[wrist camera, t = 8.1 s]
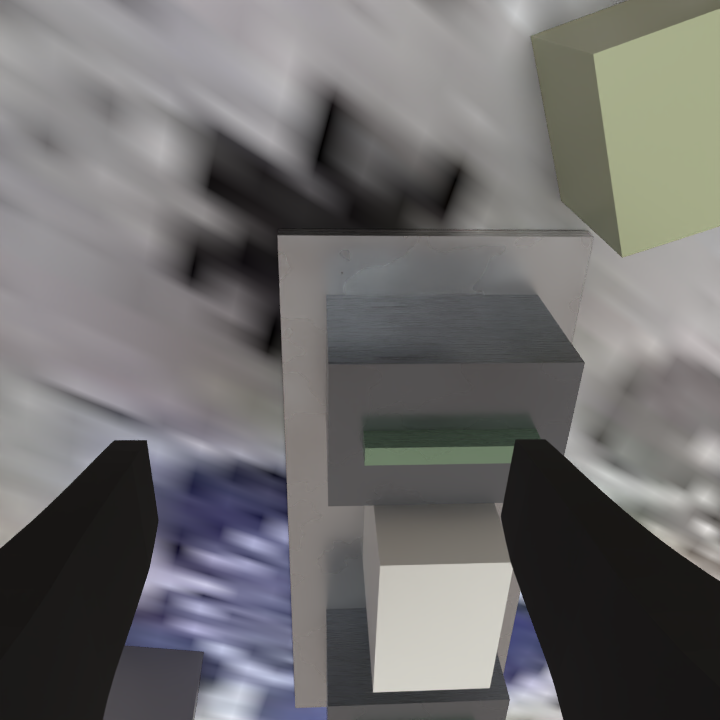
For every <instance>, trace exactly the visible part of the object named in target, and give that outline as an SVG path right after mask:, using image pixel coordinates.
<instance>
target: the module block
mask: <svg viewBox="0 0 720 720" xmlns="http://www.w3.org/2000/svg"><path fill="white" fill-rule="evenodd" d="M362 559H363V571H364V584H365V597H366V609H367V622H368V635H369V648H370V660H371V673H372V686H373V692H399V691H426V690H454V689H481V688H490V684H491V679H492V674H493V669H494V664H495V659H496V653H497V648H498V643H499V638H500V633H501V628H502V623H503V617H504V612H505V607H506V602H507V597H508V592H509V587H510V582H511V576H512V571H513V568H512V565H511V562H510V558H509V553H508V549H507V545H506V541H505V536H504V531H503V528H502V525H501V522H500V519H499V516H498V513H497V510H496V507H495V504H494V503H476V504H425V505H374V506H364V531H363V558H362Z"/></svg>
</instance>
